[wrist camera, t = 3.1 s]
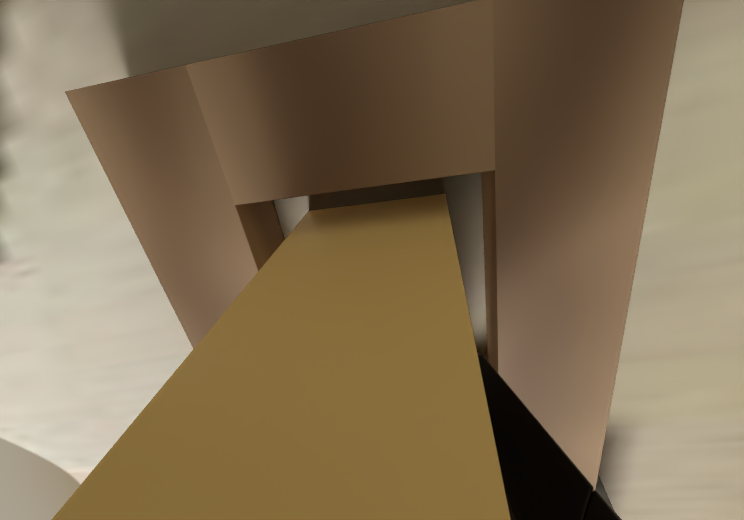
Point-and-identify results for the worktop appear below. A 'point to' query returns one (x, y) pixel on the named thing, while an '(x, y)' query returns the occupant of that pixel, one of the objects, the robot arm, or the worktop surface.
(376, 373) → the tan rectangular block
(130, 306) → the worktop surface
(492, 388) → the robot arm
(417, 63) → the brown wooden frame
